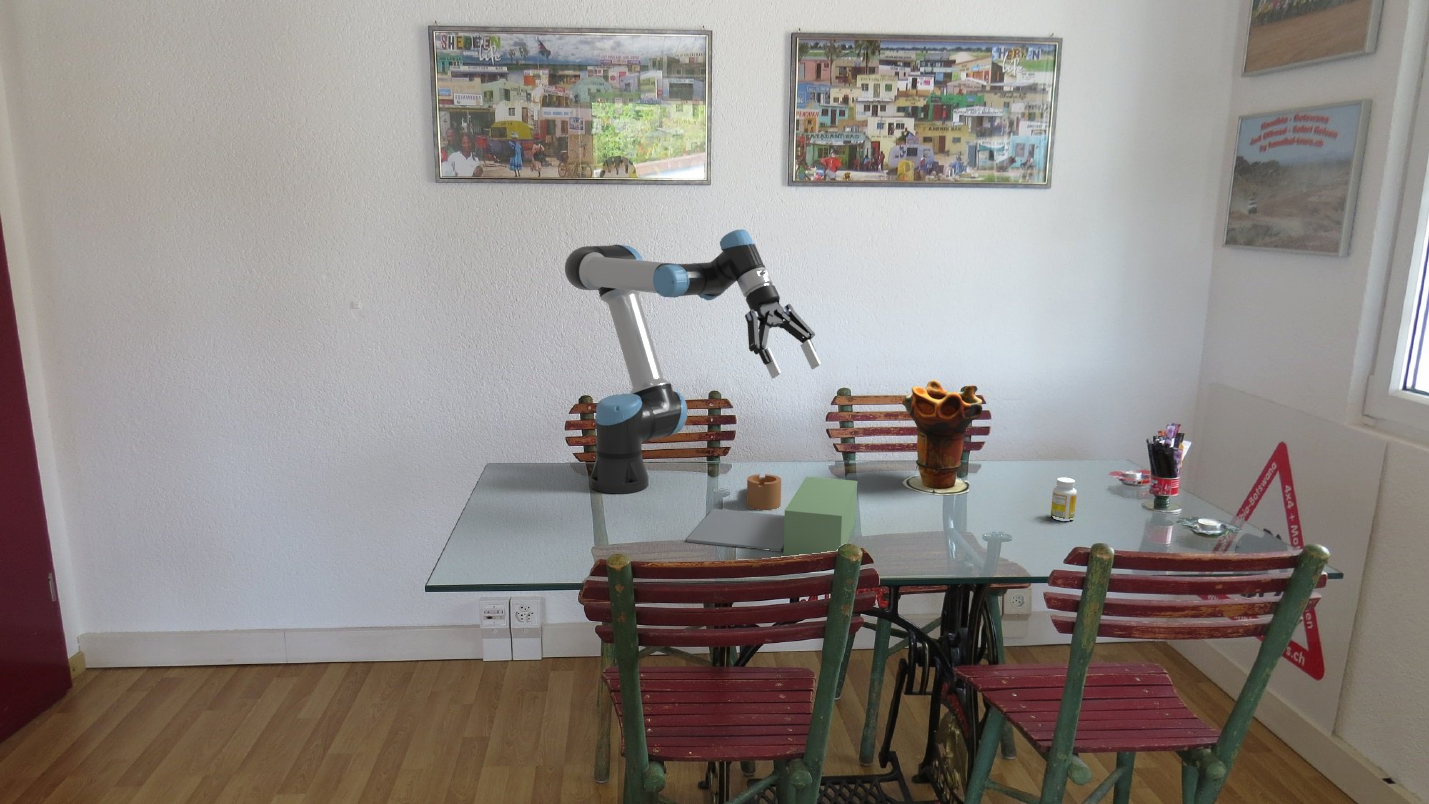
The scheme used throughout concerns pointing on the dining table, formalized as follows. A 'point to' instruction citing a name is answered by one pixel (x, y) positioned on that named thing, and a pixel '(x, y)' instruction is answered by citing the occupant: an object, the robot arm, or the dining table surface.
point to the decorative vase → (940, 436)
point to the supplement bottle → (1064, 499)
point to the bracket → (764, 492)
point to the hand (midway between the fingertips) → (797, 371)
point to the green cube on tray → (789, 521)
